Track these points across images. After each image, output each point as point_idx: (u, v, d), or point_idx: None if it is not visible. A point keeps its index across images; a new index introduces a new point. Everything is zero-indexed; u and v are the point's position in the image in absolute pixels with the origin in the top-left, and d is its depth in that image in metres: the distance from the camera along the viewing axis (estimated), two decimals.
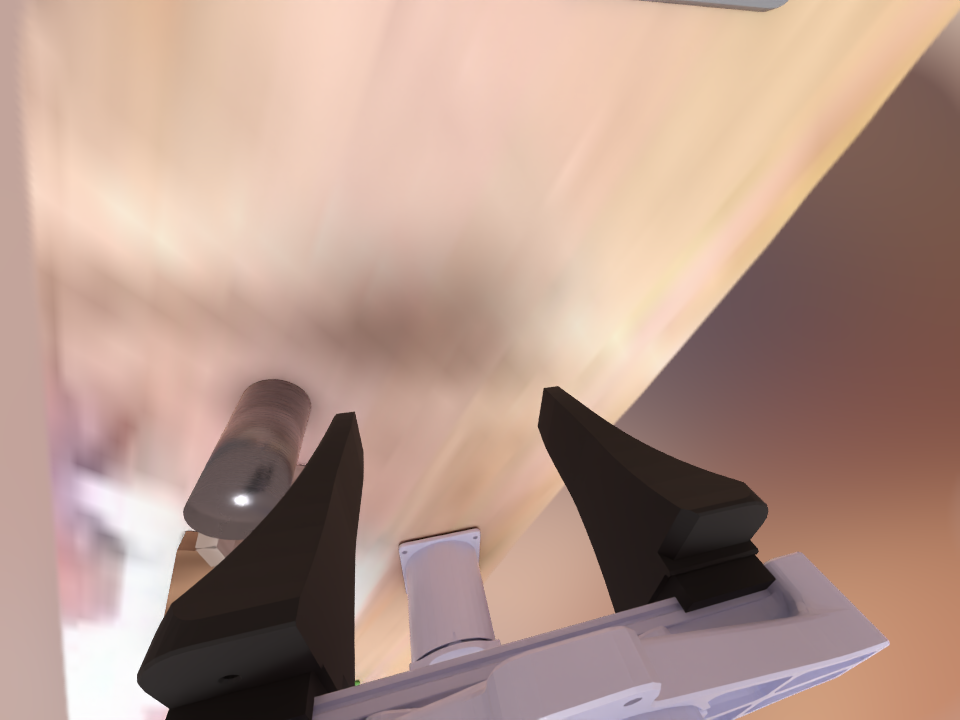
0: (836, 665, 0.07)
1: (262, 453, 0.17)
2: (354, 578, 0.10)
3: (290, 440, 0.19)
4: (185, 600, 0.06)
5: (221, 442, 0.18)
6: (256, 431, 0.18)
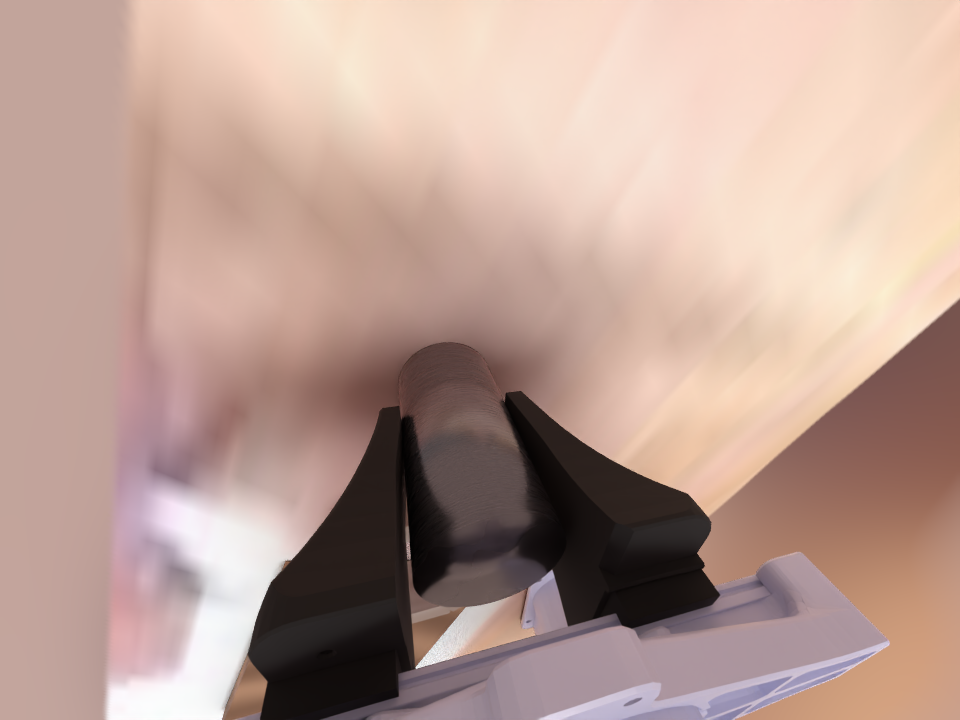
0: (836, 665, 0.07)
1: (514, 454, 0.10)
2: (407, 566, 0.11)
3: None
4: (285, 579, 0.06)
5: (431, 435, 0.10)
6: (483, 417, 0.11)
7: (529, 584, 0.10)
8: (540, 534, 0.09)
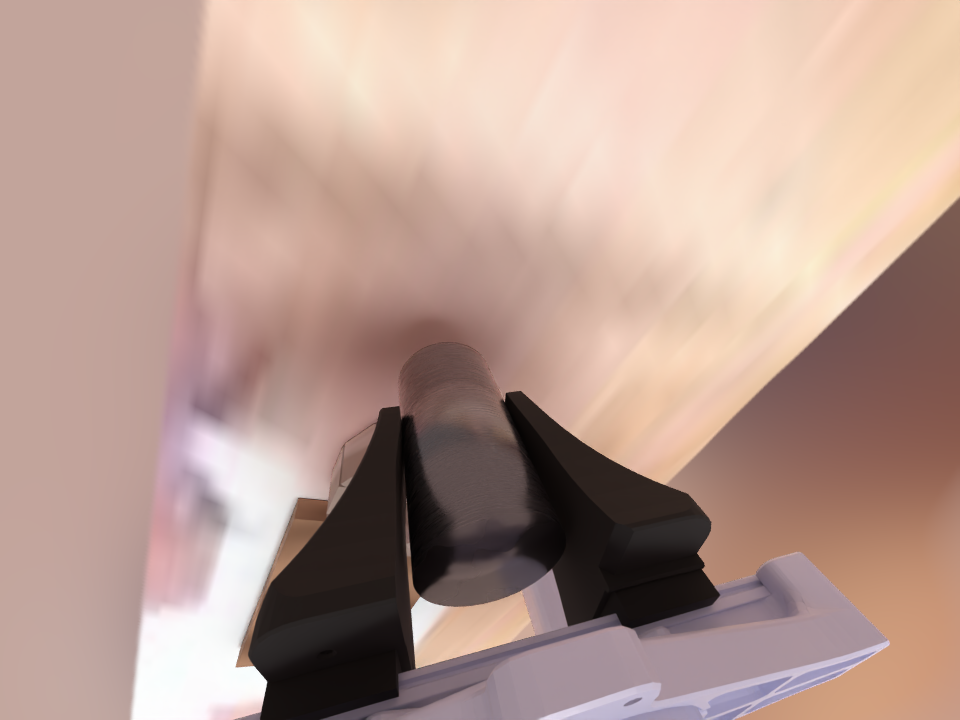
0: (836, 665, 0.07)
1: (515, 453, 0.10)
2: (407, 567, 0.11)
3: (518, 432, 0.12)
4: (285, 580, 0.06)
5: (431, 434, 0.10)
6: (483, 417, 0.11)
7: (529, 583, 0.10)
8: (540, 533, 0.09)
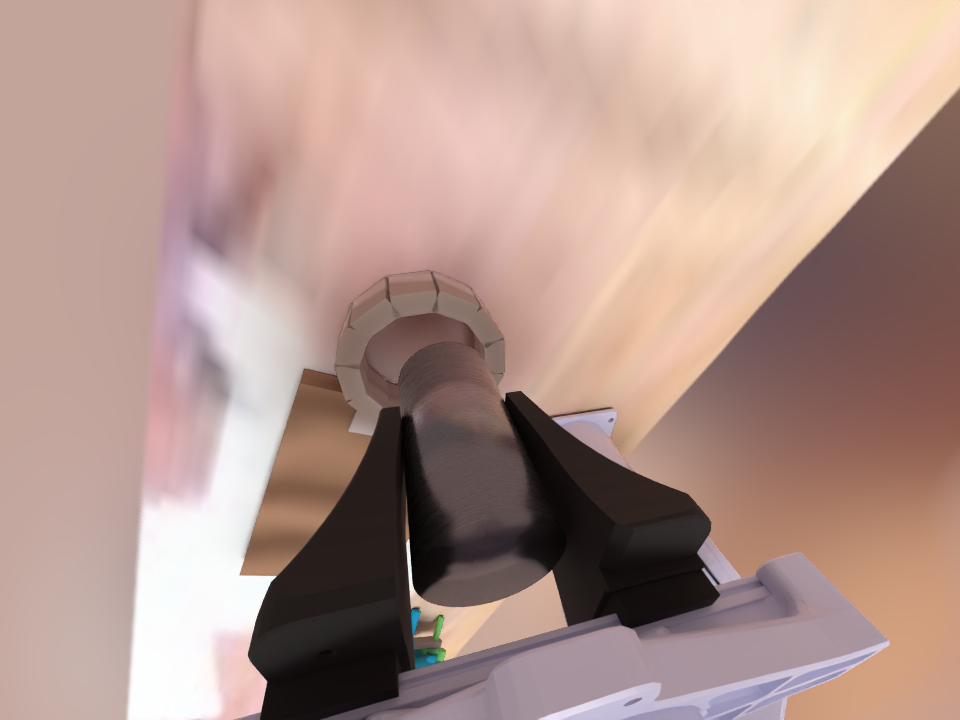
0: (836, 665, 0.07)
1: (515, 453, 0.10)
2: (407, 567, 0.11)
3: (518, 432, 0.12)
4: (285, 580, 0.06)
5: (431, 434, 0.10)
6: (483, 416, 0.11)
7: (529, 584, 0.10)
8: (540, 534, 0.09)
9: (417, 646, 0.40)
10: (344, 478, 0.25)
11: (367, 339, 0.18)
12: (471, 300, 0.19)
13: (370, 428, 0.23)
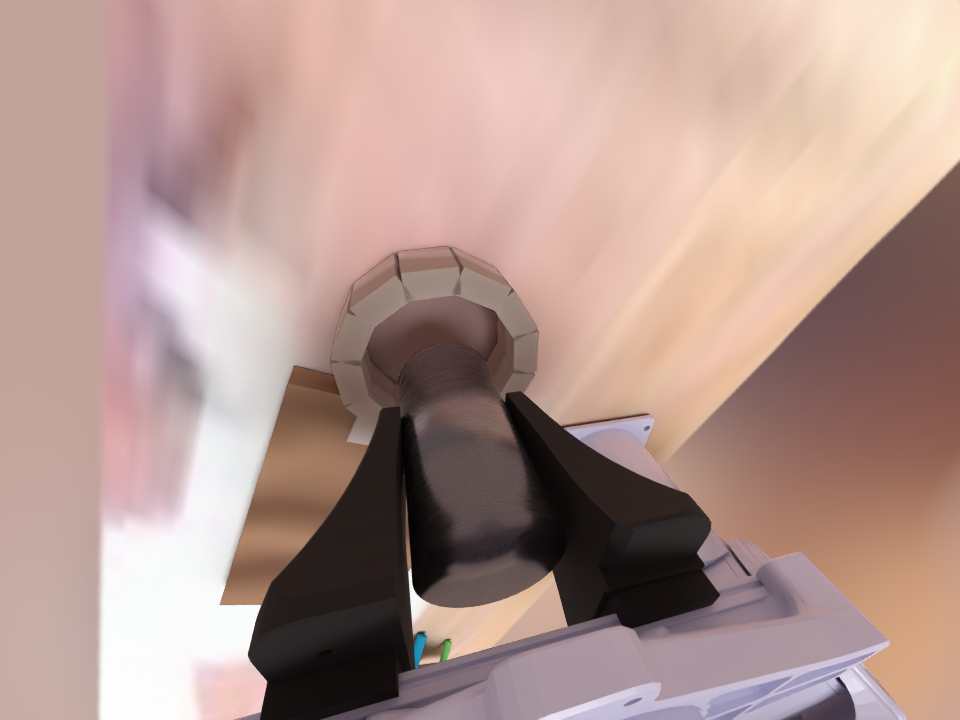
0: (836, 665, 0.07)
1: (515, 453, 0.10)
2: (407, 566, 0.11)
3: (518, 432, 0.12)
4: (285, 580, 0.06)
5: (431, 435, 0.10)
6: (483, 417, 0.11)
7: (529, 584, 0.10)
8: (540, 534, 0.09)
9: None
10: (341, 495, 0.22)
11: (371, 328, 0.15)
12: (501, 281, 0.15)
13: None
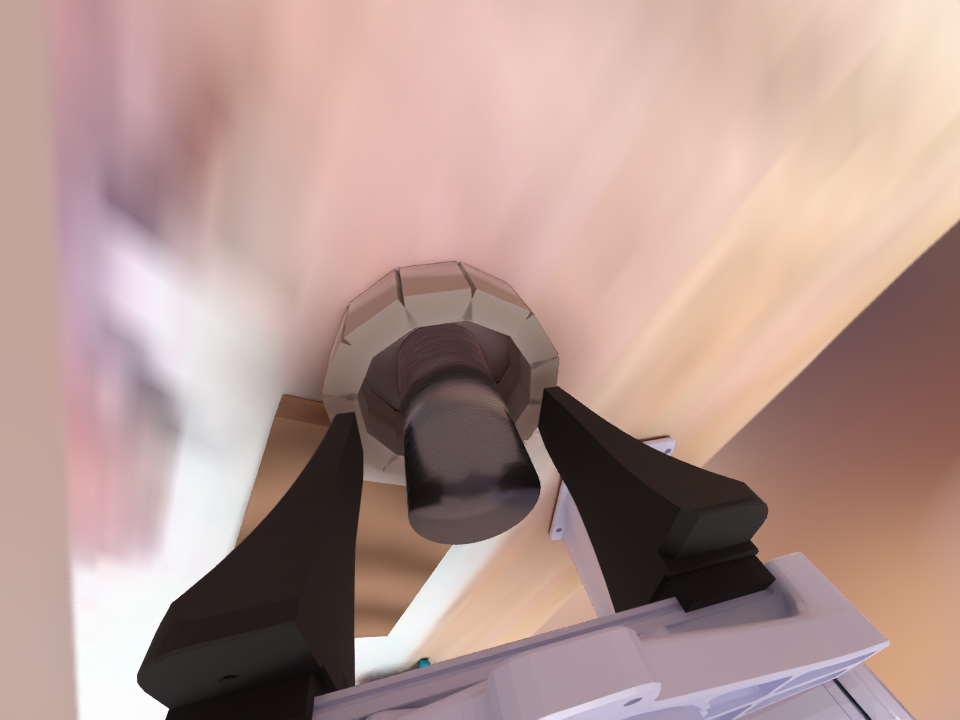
0: (836, 665, 0.07)
1: (497, 413, 0.11)
2: (354, 578, 0.10)
3: (503, 399, 0.13)
4: (186, 601, 0.06)
5: (425, 398, 0.12)
6: (471, 383, 0.12)
7: (509, 526, 0.12)
8: (517, 477, 0.10)
9: None
10: None
11: (369, 359, 0.13)
12: (518, 303, 0.13)
13: (371, 472, 0.17)
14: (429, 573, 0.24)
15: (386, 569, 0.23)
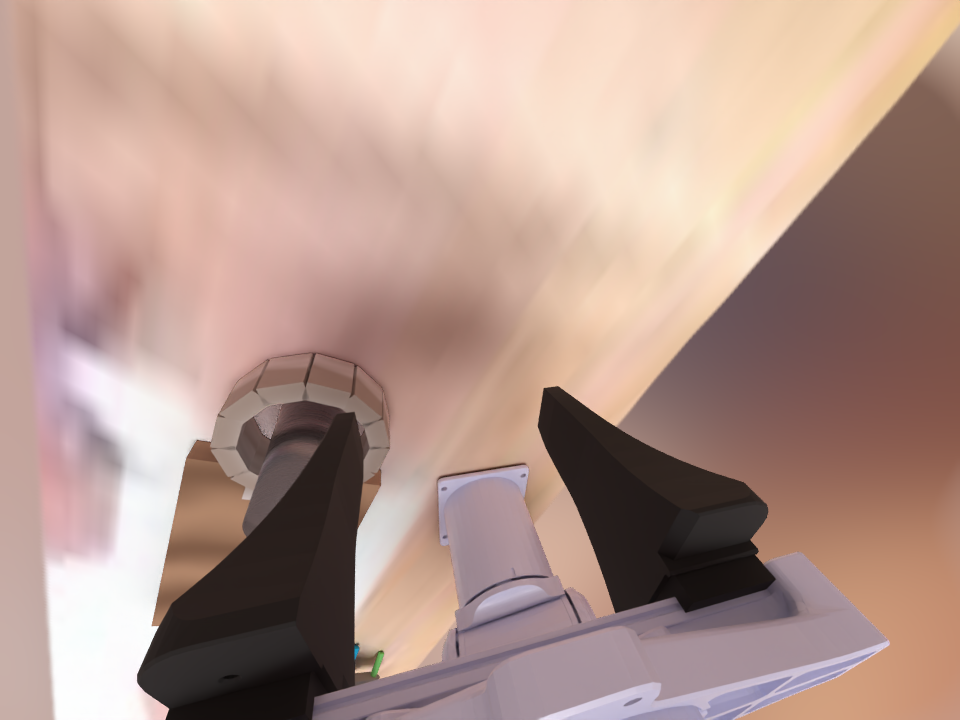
0: (836, 665, 0.07)
1: None
2: (354, 578, 0.10)
3: None
4: (185, 600, 0.06)
5: (271, 454, 0.18)
6: (304, 444, 0.19)
7: None
8: None
9: None
10: None
11: (240, 425, 0.19)
12: (344, 387, 0.20)
13: None
14: None
15: None
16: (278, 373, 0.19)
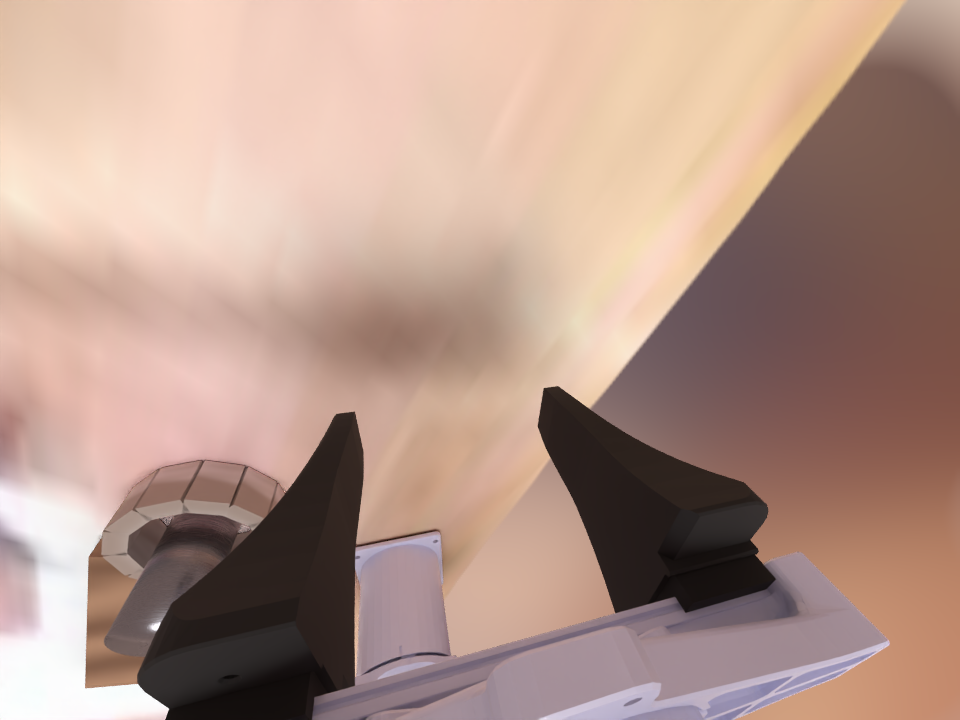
0: (836, 665, 0.07)
1: (179, 581, 0.20)
2: (354, 578, 0.10)
3: (212, 557, 0.22)
4: (185, 600, 0.06)
5: (146, 567, 0.20)
6: (177, 556, 0.21)
7: None
8: None
9: None
10: None
11: (126, 536, 0.21)
12: (224, 497, 0.22)
13: None
14: None
15: None
16: (161, 488, 0.21)
